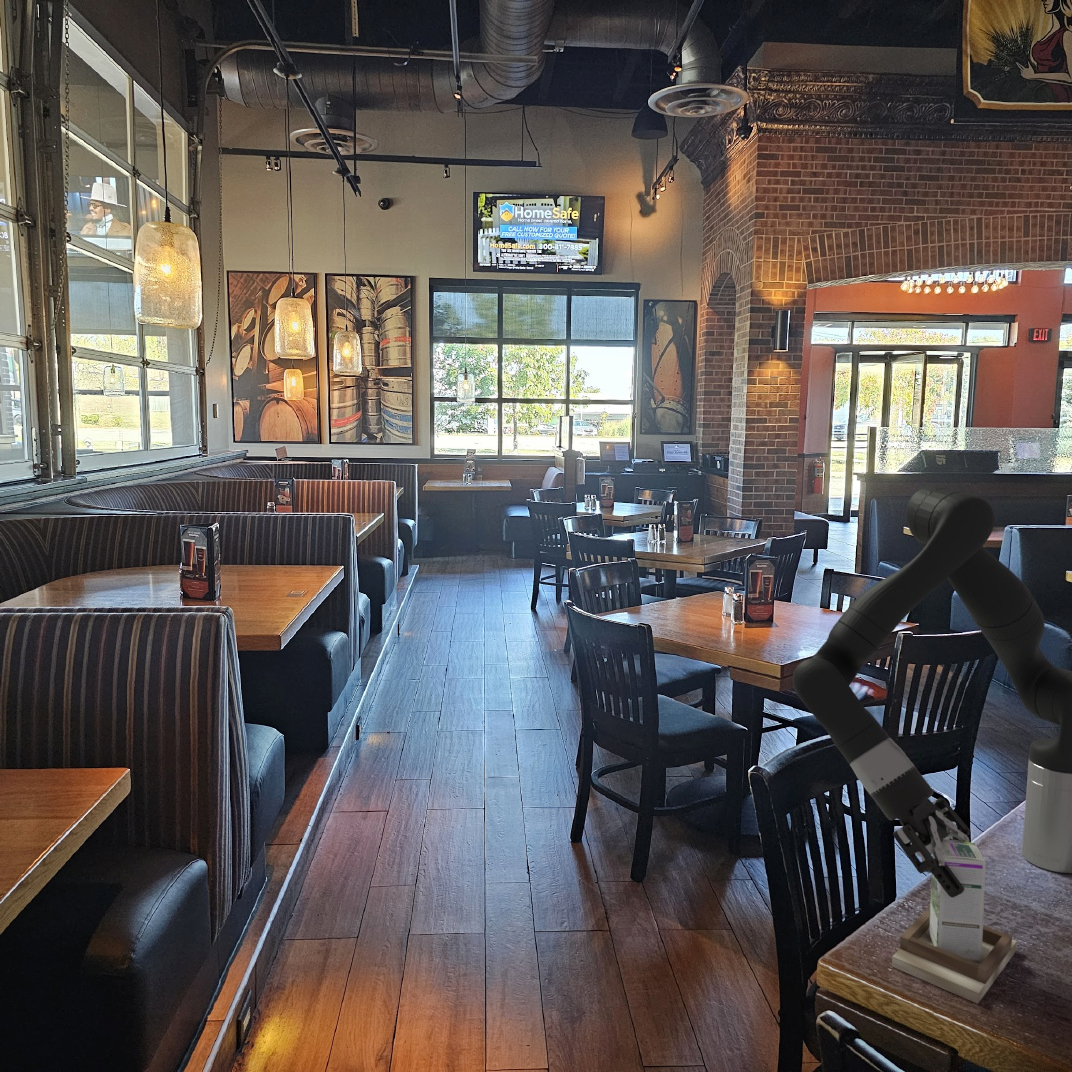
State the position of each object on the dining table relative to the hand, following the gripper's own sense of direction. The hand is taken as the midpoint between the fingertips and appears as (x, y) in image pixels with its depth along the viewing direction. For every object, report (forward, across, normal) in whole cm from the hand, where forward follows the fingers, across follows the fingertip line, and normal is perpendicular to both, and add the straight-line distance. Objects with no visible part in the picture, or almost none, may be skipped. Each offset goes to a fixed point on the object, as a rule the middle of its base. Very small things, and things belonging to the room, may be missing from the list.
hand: (969, 882), depth 117 cm
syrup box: (+6, 0, +8) cm, 10 cm away
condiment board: (+7, 0, +9) cm, 12 cm away
